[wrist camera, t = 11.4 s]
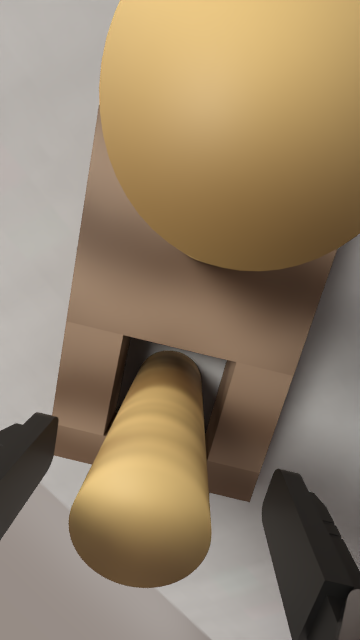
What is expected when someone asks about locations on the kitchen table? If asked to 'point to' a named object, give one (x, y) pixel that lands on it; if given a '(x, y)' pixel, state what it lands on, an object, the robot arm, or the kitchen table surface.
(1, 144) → the kitchen table surface
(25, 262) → the kitchen table surface
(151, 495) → the pin
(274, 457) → the kitchen table surface
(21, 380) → the kitchen table surface
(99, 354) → the pin plate
